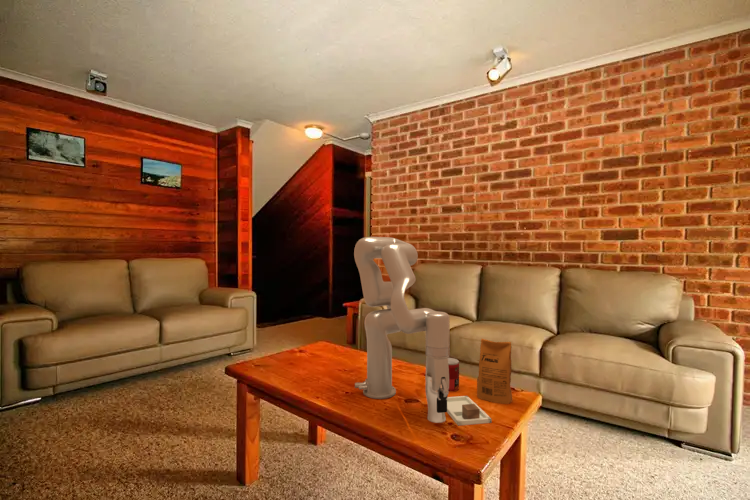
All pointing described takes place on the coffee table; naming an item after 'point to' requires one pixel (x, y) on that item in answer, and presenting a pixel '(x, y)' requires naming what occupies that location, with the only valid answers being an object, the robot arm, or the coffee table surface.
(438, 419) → the beer glass
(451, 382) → the canned food
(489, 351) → the coffee package
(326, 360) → the coffee table surface
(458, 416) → the tray
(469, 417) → the walnut block
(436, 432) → the coffee table surface
